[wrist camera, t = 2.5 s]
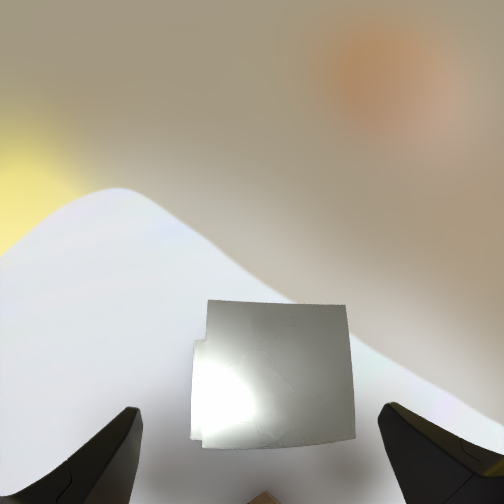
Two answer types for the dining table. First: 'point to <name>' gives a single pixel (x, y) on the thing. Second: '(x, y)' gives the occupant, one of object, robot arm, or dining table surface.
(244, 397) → the steel housing
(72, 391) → the dining table surface
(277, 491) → the dining table surface
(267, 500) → the light tan tray
